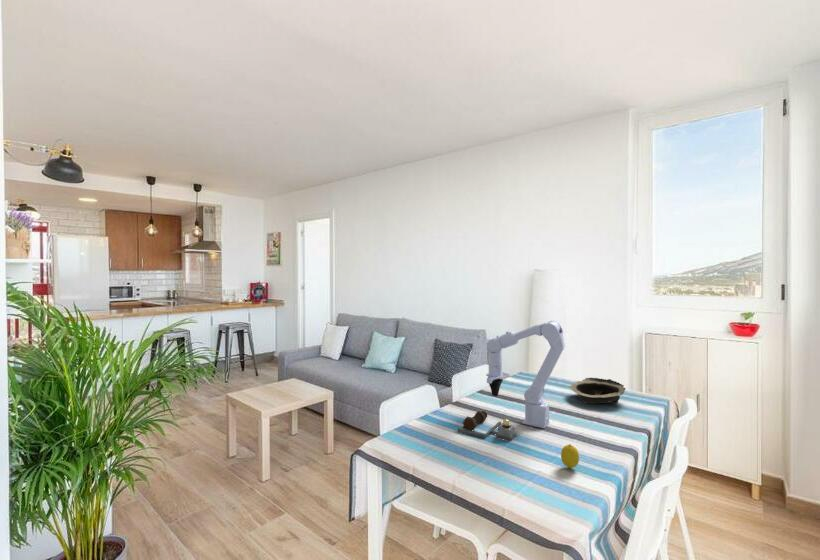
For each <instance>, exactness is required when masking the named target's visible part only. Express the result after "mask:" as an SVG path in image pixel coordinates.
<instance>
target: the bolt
mask: <svg viewBox="0 0 820 560" xmlns="http://www.w3.org/2000/svg"><path fill="white" fill-rule="evenodd" d="M487 418H488V413H487V412H486V411H483V410H482V411H480V410H479V411H476V413H475V414H474V416H466V417H465V418H464V420H463V422H462V423H463V424H462V426H463V425H464V427H465V429H468V430H473V431H475V429H476V428H477V426H478V424H479V422H481V423H480V424H483V423H484V422H485V420H486V419H487Z"/></svg>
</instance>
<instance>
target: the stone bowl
mask: <svg viewBox="0 0 820 560" xmlns="http://www.w3.org/2000/svg"><path fill="white" fill-rule="evenodd" d="M569 388H570V390H571V391H572V392H574V394H577V396H578V398H579V400H580V401H581V402H583V403H585V404H587V405H588V404H589V405H590V404H605V403H606V404H607V403H613V404H614V403H618V402H619V400H620V398H621V397H620V396H622V395H624V393H625V390H626V387H625V385H624V384H622V383H620V382H618V381H616V380H612V379H611V378H610V379H609V378H608V379H605V378H598V377H586V378H584V379H582V380H578V381H575V382H573V383H571V384H570V386H569Z"/></svg>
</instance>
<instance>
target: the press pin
mask: <svg viewBox="0 0 820 560" xmlns="http://www.w3.org/2000/svg"><path fill="white" fill-rule="evenodd" d="M502 423H503V427H504V428H509V424H510V419H508V418H503V419H502Z"/></svg>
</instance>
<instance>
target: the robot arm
mask: <svg viewBox="0 0 820 560" xmlns="http://www.w3.org/2000/svg"><path fill="white" fill-rule="evenodd" d="M535 335H536V336H539V337H541V336H543V338H544V339H546V341H547V342H548V344H549V346H550V348H549V350H548V352H547V354H546V356H545V358H544V360H543V361H542V364H541V366H540V369H539V371H538V372H537V374H536V377H535V378H534V380H533V381H532V383H531V384H530V385H529V387H528V388H527V389H526V390H524V394H523V396H524V400H525V401H524V402H525V403H524V405H525V406H524V411H525V412H524V419H523V421H522V422H521V424H524V425H528V426H531V427H537V428H540V429H541V428H542V429H545V428H546V427H547V426H548V425H549V423H550V405H549V404H547V403H544V400H543V398H542V397H543V396H544V395H545V394H544V393H545V387H546V384H547V382H548V380H549V379H550V376H551V374H552V372H553V370H554V368H555V367H556V365H557V362H558V361H559V359H560V358H561V355H562V354H563V351H564V349H565V341H564V330H563V328H562V326H561V325H560V323H559V322H558V321H556V320H549V321H547V322H541V323H539V324H534V325H532V326H530V327H528V328H525V329H523V330H520V331H518V332H515V331H509V330H508V331H506V332H505V333H504V334H501V335H499V334H498V335H496V337H493V338H490V339H489V340H488V341H487V343H486V348H487V349H488V373H486V374H485V376H486V377H487V378H486V383H487V384H488V385H489V387H490V391H491V395H492V397H498V396H499V392H500V388H501V385H502V383H503V376H504V371H503V366H502V365H503V363H502V362H503V359H502V358H503V355H502V354H503V353H502V352H503V351H502V350H504V349H508V348H510V347H513V346H515V345H517V344H518V343H519V340H522V339H525V338H529V337H531V336H535Z"/></svg>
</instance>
